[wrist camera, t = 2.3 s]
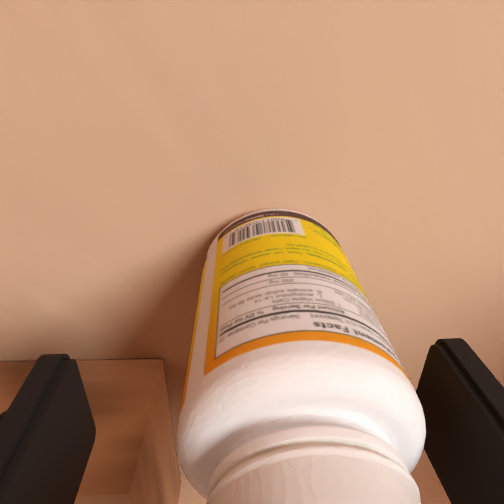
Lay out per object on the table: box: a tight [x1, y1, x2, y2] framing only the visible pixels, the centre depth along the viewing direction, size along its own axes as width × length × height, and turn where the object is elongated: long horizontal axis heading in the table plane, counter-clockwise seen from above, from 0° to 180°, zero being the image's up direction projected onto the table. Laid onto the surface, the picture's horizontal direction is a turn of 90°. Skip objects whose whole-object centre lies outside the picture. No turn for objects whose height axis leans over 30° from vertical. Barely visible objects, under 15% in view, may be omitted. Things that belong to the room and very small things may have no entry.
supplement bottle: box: [177, 208, 426, 504], centre depth 11 cm, size 6×6×10 cm
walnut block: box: [0, 359, 181, 504], centre depth 17 cm, size 10×10×6 cm
